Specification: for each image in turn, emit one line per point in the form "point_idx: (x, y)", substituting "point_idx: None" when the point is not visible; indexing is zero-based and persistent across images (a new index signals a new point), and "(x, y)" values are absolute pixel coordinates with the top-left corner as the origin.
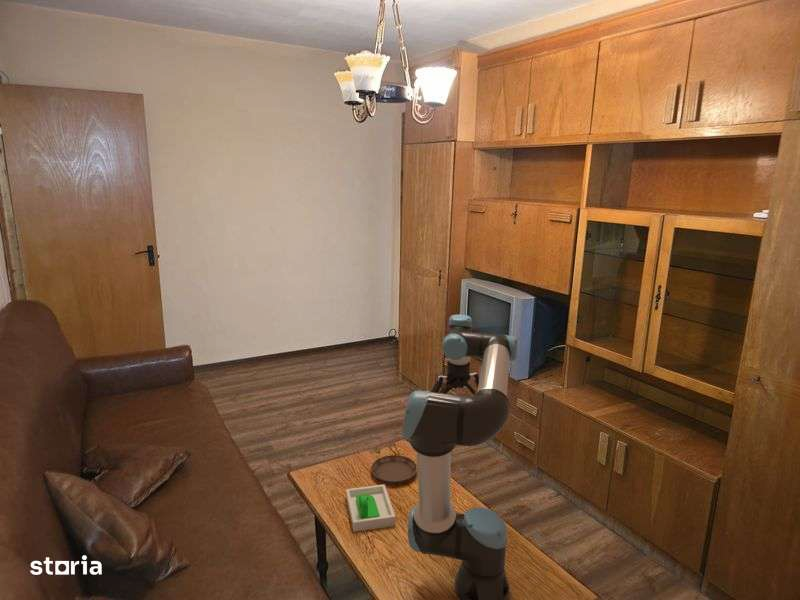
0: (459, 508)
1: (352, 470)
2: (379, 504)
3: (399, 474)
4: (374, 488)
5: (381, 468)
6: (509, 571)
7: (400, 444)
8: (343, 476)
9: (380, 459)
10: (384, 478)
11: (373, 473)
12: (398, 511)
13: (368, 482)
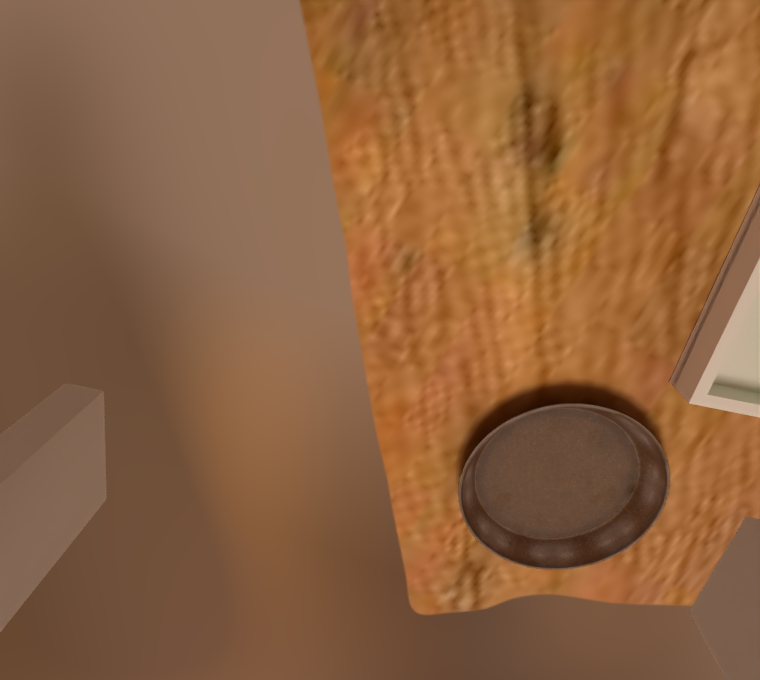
0: (421, 143)
1: (696, 551)
2: (757, 309)
3: (541, 458)
4: (740, 398)
5: (586, 518)
6: None
7: (426, 613)
8: None
9: (575, 560)
10: (615, 459)
11: (666, 493)
12: (694, 242)
13: (686, 464)
